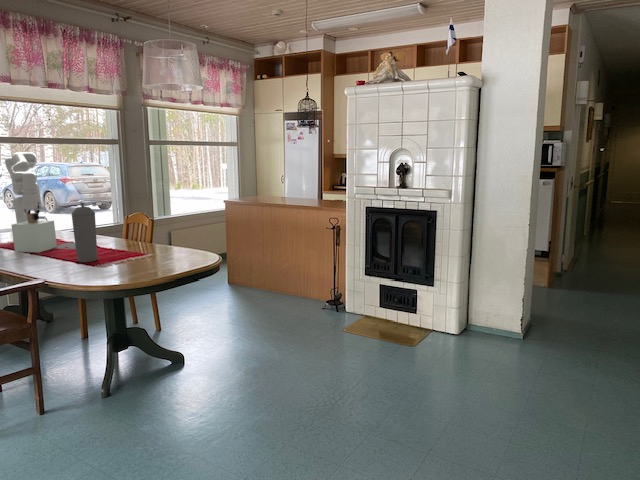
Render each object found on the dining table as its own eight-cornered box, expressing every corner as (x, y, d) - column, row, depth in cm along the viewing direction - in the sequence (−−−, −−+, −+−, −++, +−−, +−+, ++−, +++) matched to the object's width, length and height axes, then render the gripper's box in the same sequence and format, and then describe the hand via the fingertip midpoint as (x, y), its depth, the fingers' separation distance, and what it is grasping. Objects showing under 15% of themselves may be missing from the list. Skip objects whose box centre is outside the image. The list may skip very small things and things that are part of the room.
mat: (49, 248, 322) (49, 248, 321) (68, 242, 341) (68, 242, 341) (76, 249, 319) (76, 249, 319) (94, 243, 338) (94, 243, 338)
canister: (75, 264, 280) (70, 204, 273) (75, 259, 291) (70, 202, 284) (99, 261, 286) (94, 203, 279) (98, 257, 297) (93, 201, 290)
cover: (15, 251, 311) (10, 215, 307) (34, 246, 328) (29, 211, 323) (39, 252, 309) (34, 215, 304) (57, 246, 326) (52, 211, 321)
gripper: (14, 192, 309) (17, 220, 312) (38, 192, 306) (41, 220, 310) (22, 191, 316) (25, 218, 319) (46, 191, 314) (49, 219, 317)
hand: (33, 219), depth 315 cm, fingers open, 4 cm apart
